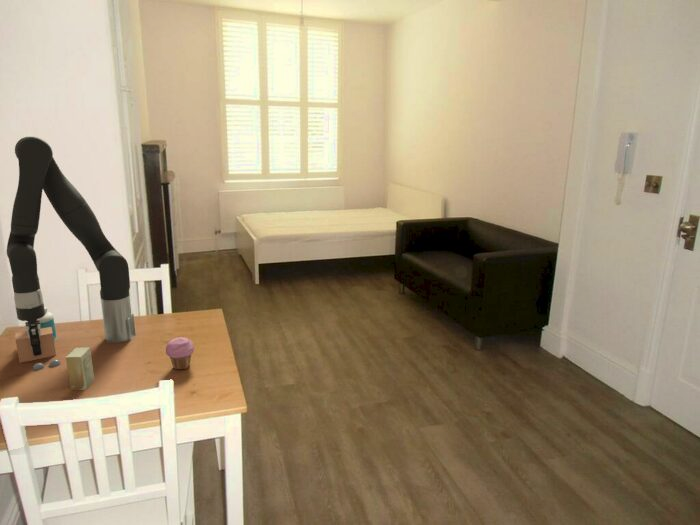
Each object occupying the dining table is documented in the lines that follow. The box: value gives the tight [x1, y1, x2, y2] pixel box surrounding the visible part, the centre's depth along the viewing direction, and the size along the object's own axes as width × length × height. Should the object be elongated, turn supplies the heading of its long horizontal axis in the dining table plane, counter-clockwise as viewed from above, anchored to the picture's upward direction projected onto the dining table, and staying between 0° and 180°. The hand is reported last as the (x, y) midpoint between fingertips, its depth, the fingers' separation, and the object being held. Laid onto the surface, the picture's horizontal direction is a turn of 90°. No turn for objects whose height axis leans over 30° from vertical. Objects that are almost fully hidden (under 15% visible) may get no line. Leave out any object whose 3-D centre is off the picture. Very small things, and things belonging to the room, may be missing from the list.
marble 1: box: [32, 362, 45, 371], centre depth 148 cm, size 3×3×3 cm
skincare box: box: [65, 347, 95, 391], centre depth 138 cm, size 6×4×12 cm
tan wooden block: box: [15, 327, 57, 364], centre depth 155 cm, size 10×6×8 cm, turn 124°
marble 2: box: [49, 359, 61, 368], centre depth 150 cm, size 3×3×3 cm
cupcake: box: [165, 336, 195, 370], centre depth 153 cm, size 9×9×10 cm
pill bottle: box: [37, 305, 57, 342], centre depth 165 cm, size 8×7×14 cm
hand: (37, 350), depth 156 cm, fingers closed on tan wooden block, 6 cm apart
